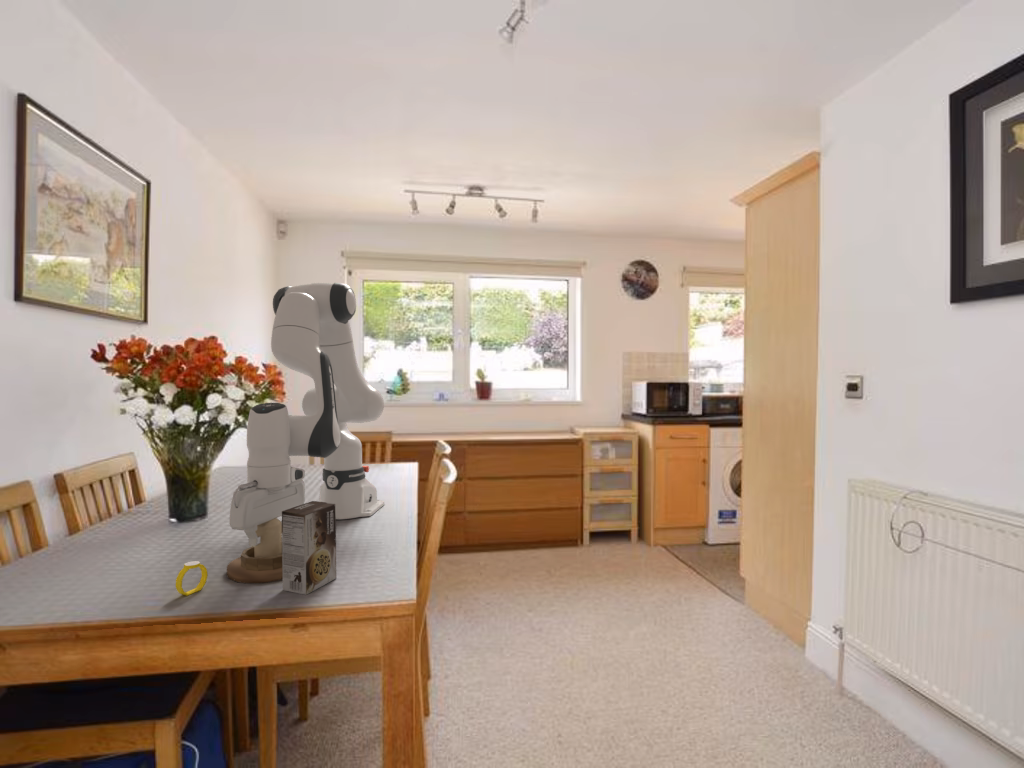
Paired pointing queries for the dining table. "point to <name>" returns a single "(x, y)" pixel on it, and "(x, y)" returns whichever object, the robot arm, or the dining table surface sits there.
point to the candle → (269, 539)
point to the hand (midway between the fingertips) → (269, 538)
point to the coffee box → (308, 546)
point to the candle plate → (255, 568)
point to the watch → (181, 574)
